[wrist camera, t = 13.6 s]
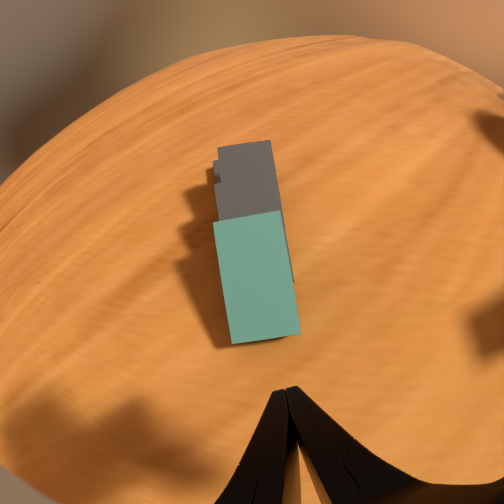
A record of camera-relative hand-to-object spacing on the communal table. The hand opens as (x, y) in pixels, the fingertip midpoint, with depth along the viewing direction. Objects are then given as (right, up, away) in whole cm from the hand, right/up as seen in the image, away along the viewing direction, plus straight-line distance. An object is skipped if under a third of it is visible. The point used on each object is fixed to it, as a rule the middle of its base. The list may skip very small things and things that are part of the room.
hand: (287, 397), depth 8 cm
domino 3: (-1, +6, +17) cm, 18 cm away
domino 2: (0, +2, +14) cm, 14 cm away
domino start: (0, -2, +12) cm, 12 cm away
